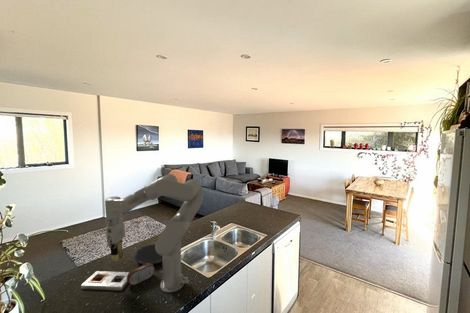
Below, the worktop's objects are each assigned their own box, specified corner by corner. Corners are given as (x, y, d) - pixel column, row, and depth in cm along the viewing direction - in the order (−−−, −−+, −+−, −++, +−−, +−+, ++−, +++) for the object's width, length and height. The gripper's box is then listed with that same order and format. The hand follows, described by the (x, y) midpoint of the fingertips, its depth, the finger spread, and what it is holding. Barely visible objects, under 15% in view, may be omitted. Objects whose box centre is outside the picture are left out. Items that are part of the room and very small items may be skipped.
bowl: (160, 246, 160) (160, 240, 160) (176, 260, 145) (176, 253, 144) (128, 258, 145) (128, 251, 144) (142, 276, 130) (142, 268, 129)
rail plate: (133, 275, 128) (133, 271, 128) (121, 290, 116) (121, 286, 116) (96, 274, 129) (96, 270, 129) (81, 288, 117) (81, 284, 117)
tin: (153, 273, 130) (153, 260, 129) (156, 276, 128) (155, 262, 127) (126, 286, 120) (125, 271, 119) (128, 289, 117) (128, 274, 116)
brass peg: (122, 256, 123) (121, 240, 122) (118, 260, 119) (117, 244, 118) (115, 255, 123) (114, 240, 122) (111, 260, 119) (110, 244, 118)
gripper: (111, 226, 110) (114, 261, 112) (129, 214, 127) (131, 244, 129) (97, 226, 110) (100, 261, 112) (116, 214, 127) (119, 244, 129)
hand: (116, 252), depth 120 cm, fingers closed on brass peg, 4 cm apart
